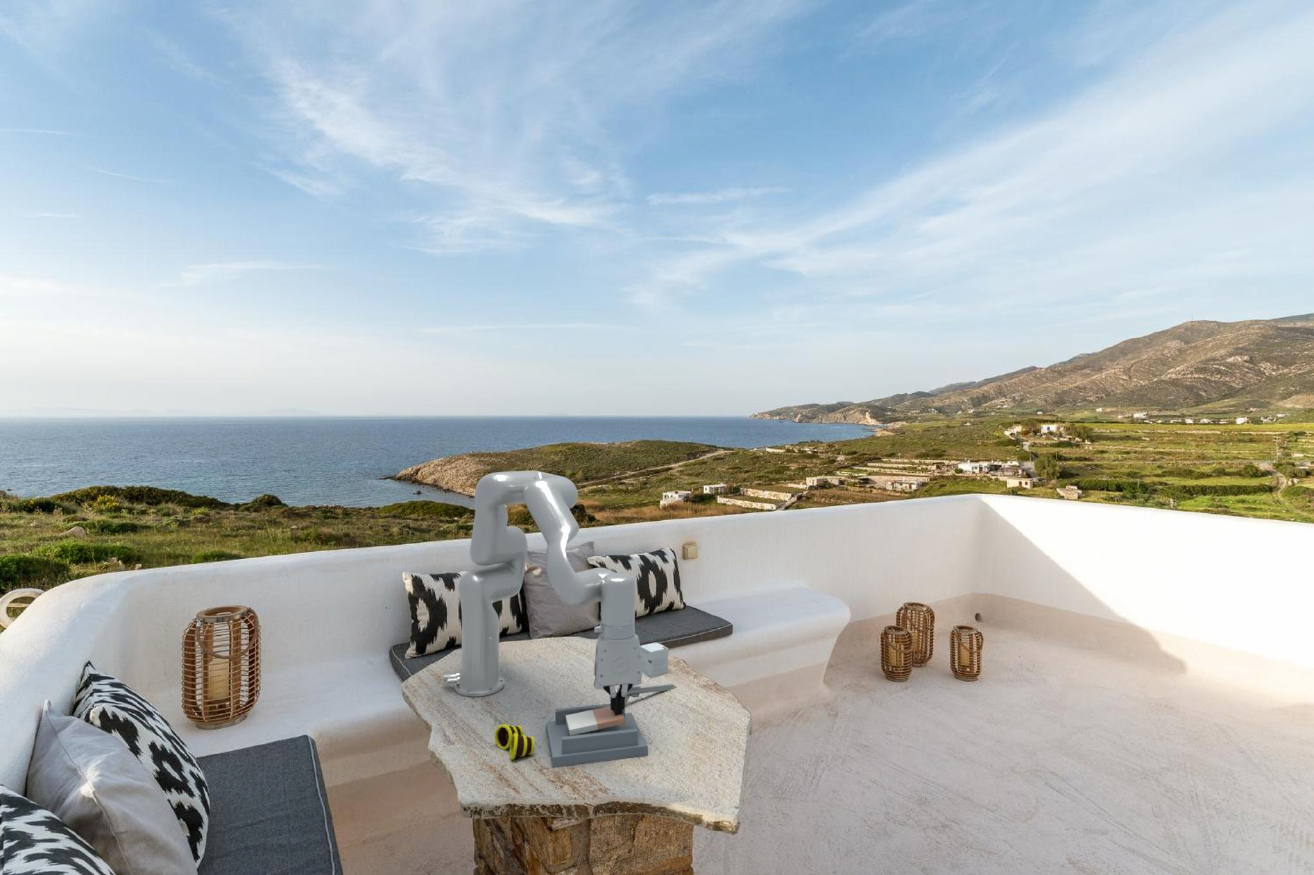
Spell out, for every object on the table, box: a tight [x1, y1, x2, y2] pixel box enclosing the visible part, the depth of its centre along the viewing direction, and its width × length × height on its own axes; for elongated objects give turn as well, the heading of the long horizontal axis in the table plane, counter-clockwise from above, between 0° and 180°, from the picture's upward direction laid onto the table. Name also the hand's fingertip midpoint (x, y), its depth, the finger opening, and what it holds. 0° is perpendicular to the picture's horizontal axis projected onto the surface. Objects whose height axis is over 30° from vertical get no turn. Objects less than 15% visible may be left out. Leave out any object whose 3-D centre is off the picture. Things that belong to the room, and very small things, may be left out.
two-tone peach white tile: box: [566, 706, 625, 736], centre depth 135 cm, size 12×7×1 cm, turn 105°
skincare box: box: [640, 642, 669, 678], centre depth 176 cm, size 6×6×7 cm
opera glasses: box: [494, 723, 535, 760], centre depth 131 cm, size 10×5×5 cm, turn 38°
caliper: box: [616, 682, 677, 708], centre depth 159 cm, size 20×1×6 cm, turn 133°
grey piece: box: [545, 703, 649, 768], centre depth 135 cm, size 20×16×5 cm
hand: (617, 712), depth 136 cm, fingers closed
